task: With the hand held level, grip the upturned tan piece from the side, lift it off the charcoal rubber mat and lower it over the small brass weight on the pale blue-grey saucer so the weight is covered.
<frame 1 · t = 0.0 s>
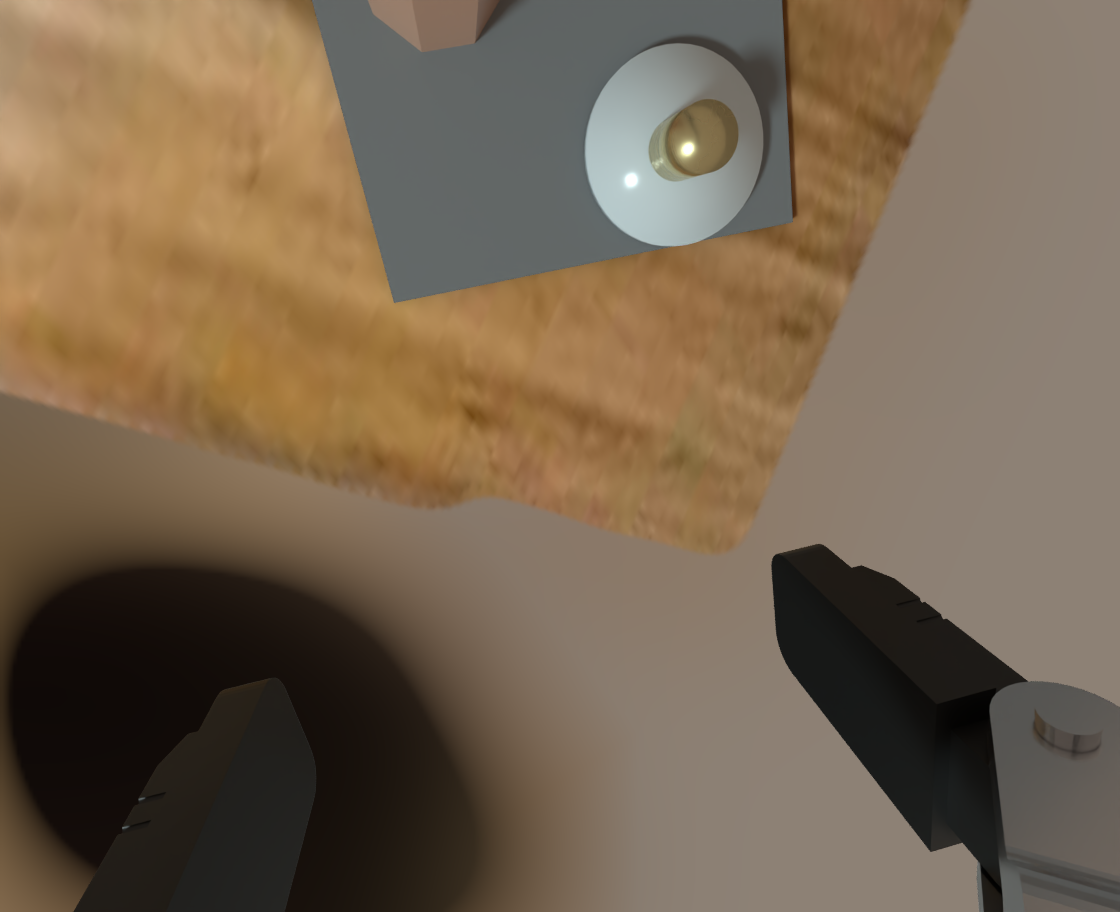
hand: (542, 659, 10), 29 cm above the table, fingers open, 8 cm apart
saucer: (670, 152, 35), resting on rubber mat
rubber mat: (566, 68, 33), on the table
brass weight: (676, 149, 34), point 2 cm above the table, touching saucer
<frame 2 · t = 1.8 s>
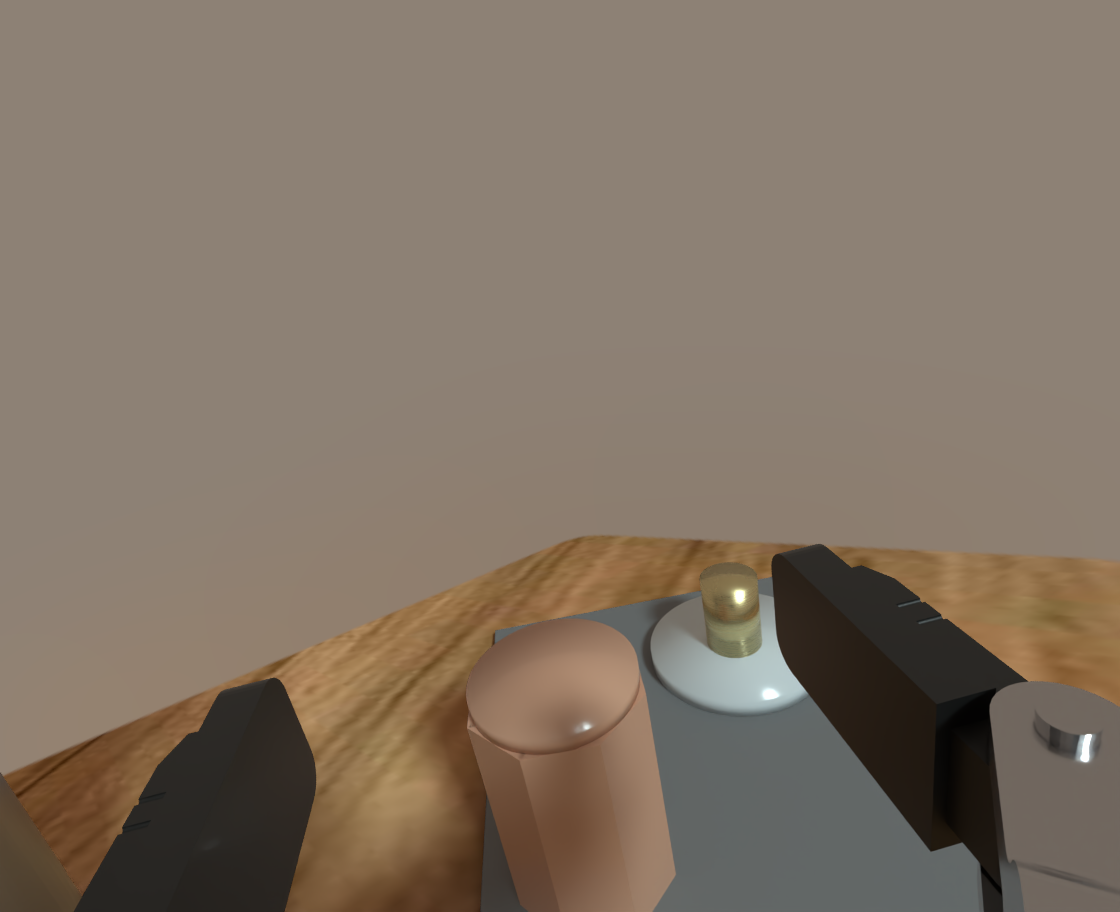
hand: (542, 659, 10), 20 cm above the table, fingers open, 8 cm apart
saucer: (735, 653, 37), resting on rubber mat
rubber mat: (675, 741, 33), on the table
brass weight: (734, 640, 37), point 2 cm above the table, touching saucer
tan piece: (594, 858, 27), point 1 cm above the table, touching rubber mat
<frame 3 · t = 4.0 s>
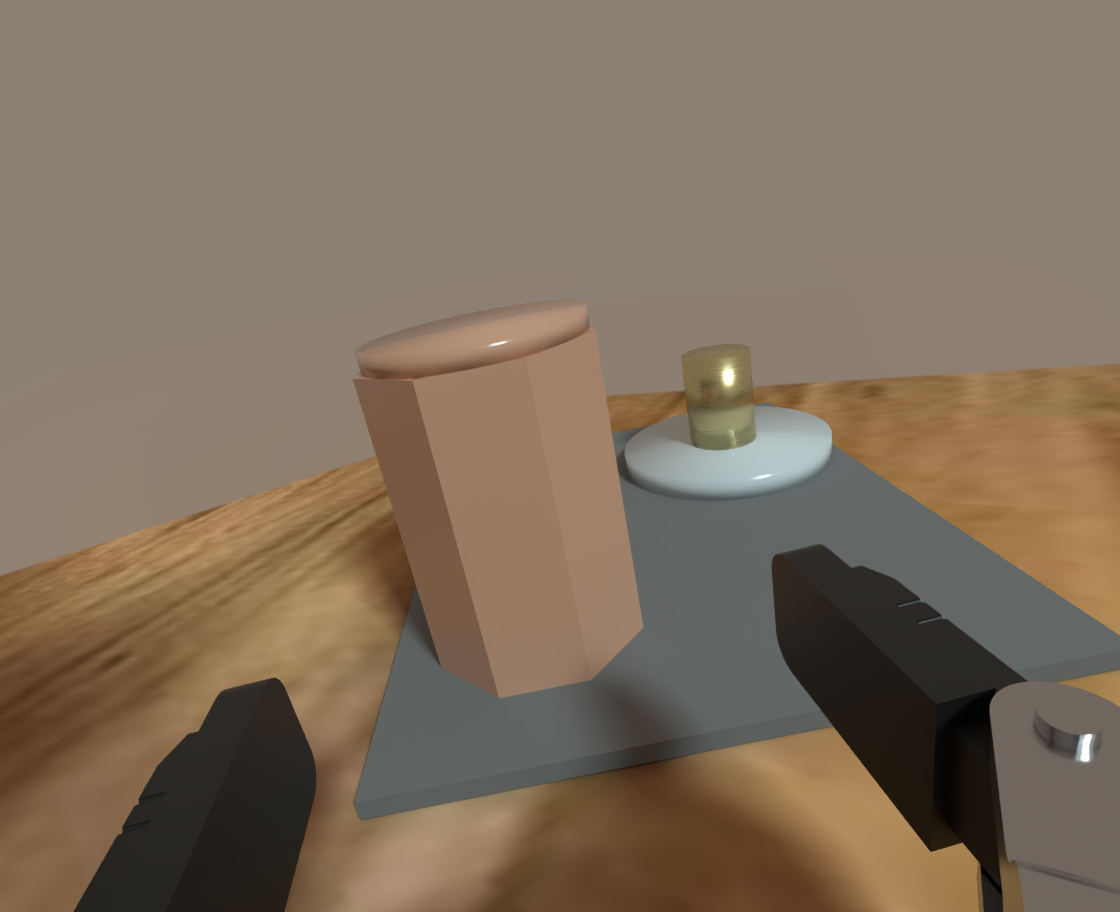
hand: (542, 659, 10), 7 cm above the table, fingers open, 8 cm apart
saucer: (725, 456, 31), resting on rubber mat
rubber mat: (650, 530, 27), on the table
brass weight: (723, 438, 31), point 2 cm above the table, touching saucer
tan piece: (540, 622, 21), point 1 cm above the table, touching rubber mat
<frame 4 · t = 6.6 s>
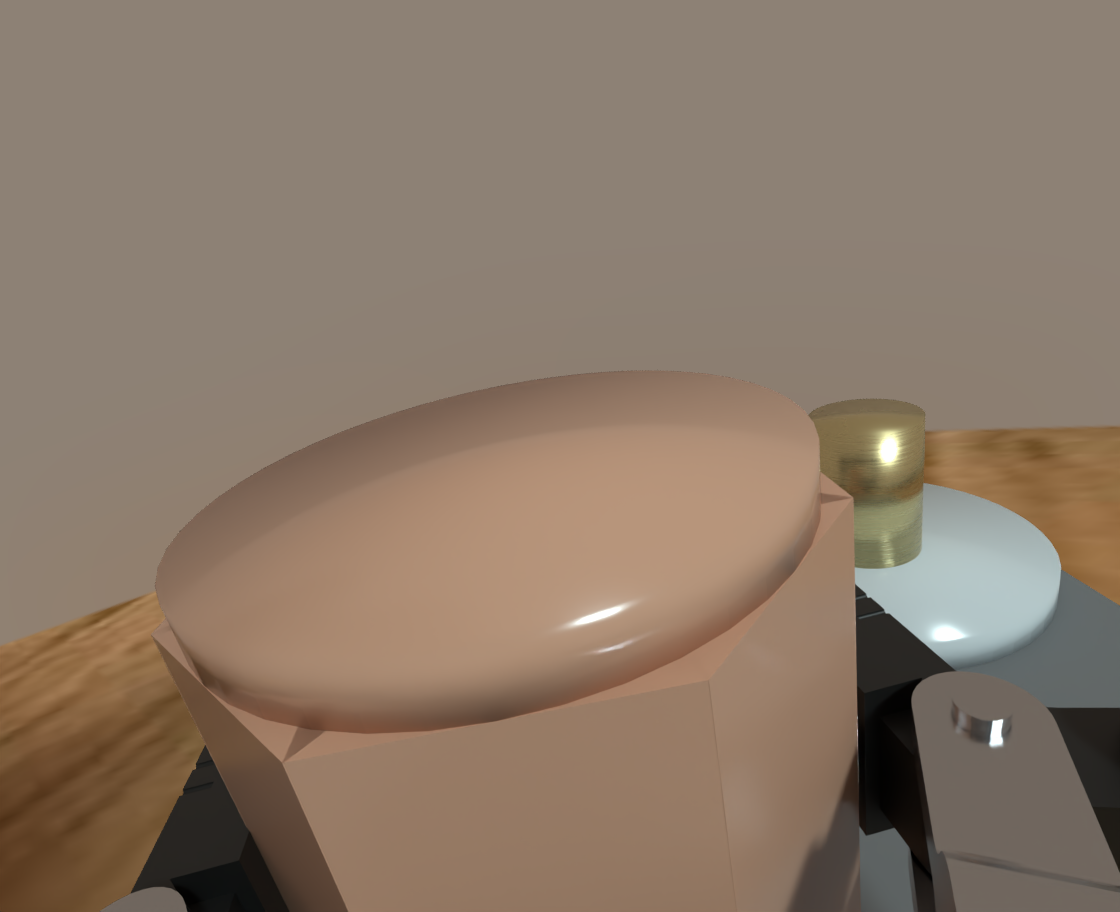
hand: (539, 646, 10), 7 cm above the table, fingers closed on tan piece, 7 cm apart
saucer: (865, 568, 21), resting on rubber mat
rubber mat: (779, 722, 16), on the table
brass weight: (865, 542, 20), point 2 cm above the table, touching saucer
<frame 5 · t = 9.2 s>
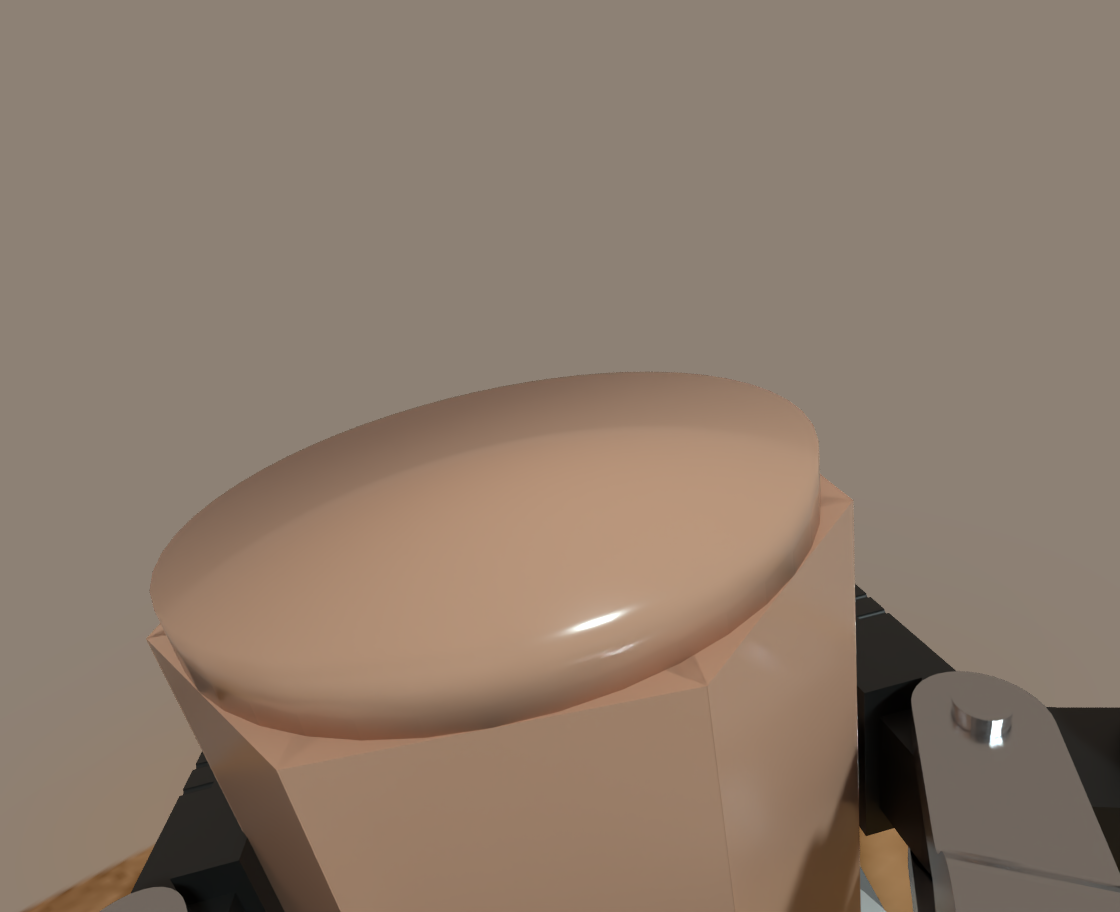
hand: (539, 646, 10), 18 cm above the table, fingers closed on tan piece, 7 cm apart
when the fingers open (9 cm above the table, at t = 12.1 s): tan piece drops 1 cm, resting on saucer.
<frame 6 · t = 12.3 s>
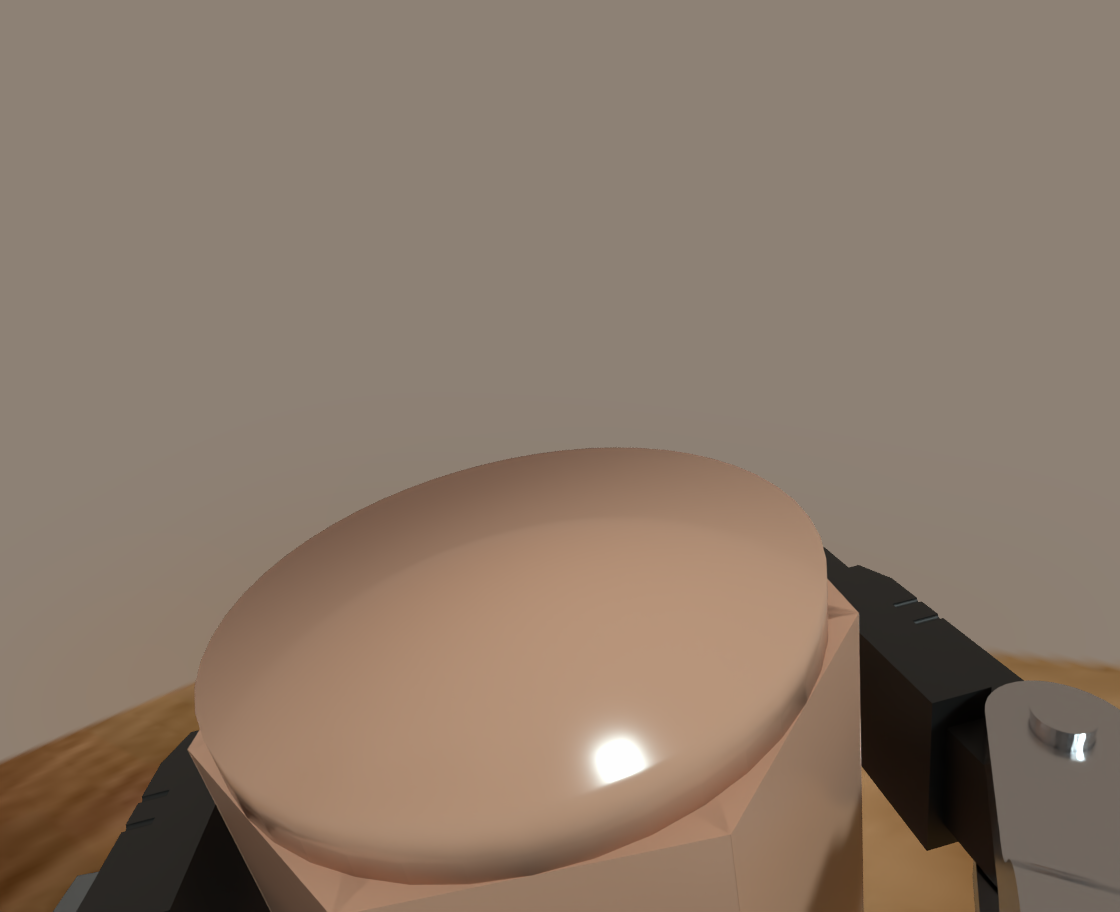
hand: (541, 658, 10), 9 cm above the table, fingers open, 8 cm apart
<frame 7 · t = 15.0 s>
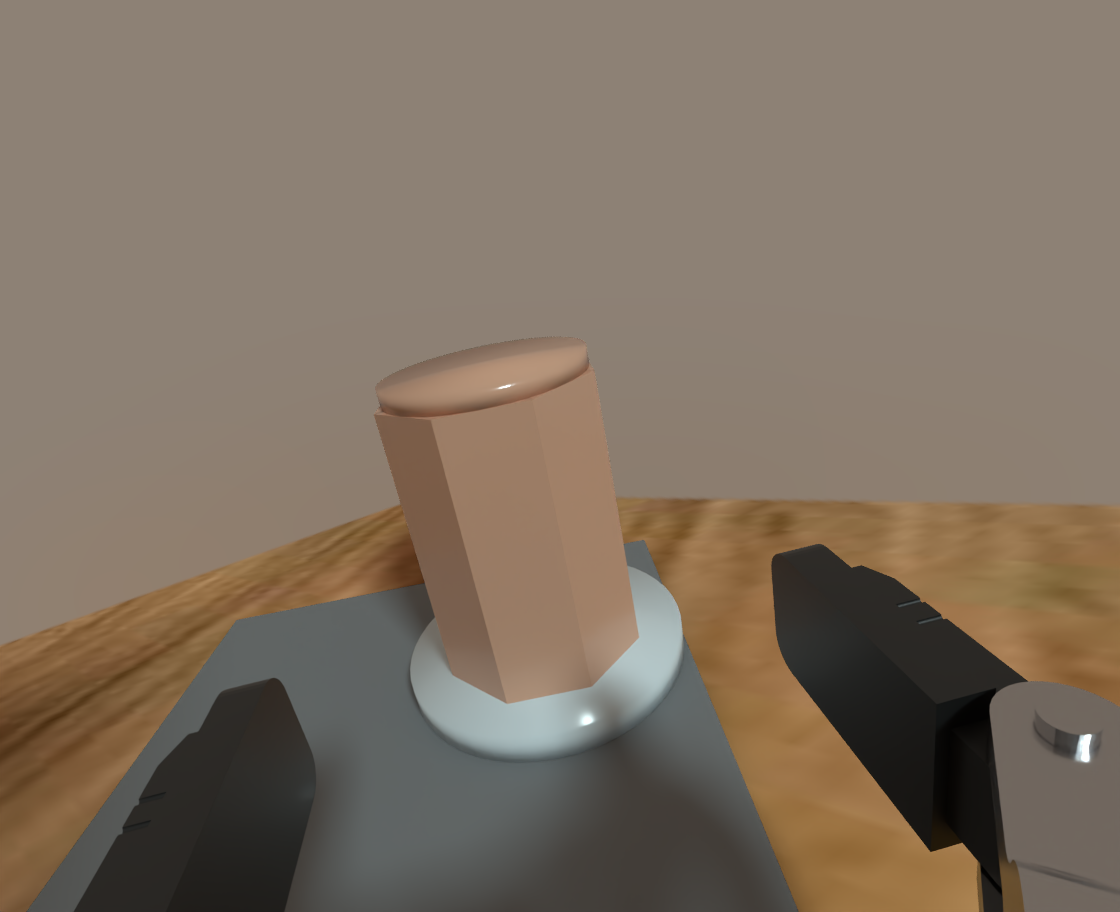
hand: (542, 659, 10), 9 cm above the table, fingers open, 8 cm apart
saucer: (549, 652, 23), resting on rubber mat
rubber mat: (399, 805, 19), on the table
tan piece: (544, 632, 23), point 2 cm above the table, touching saucer
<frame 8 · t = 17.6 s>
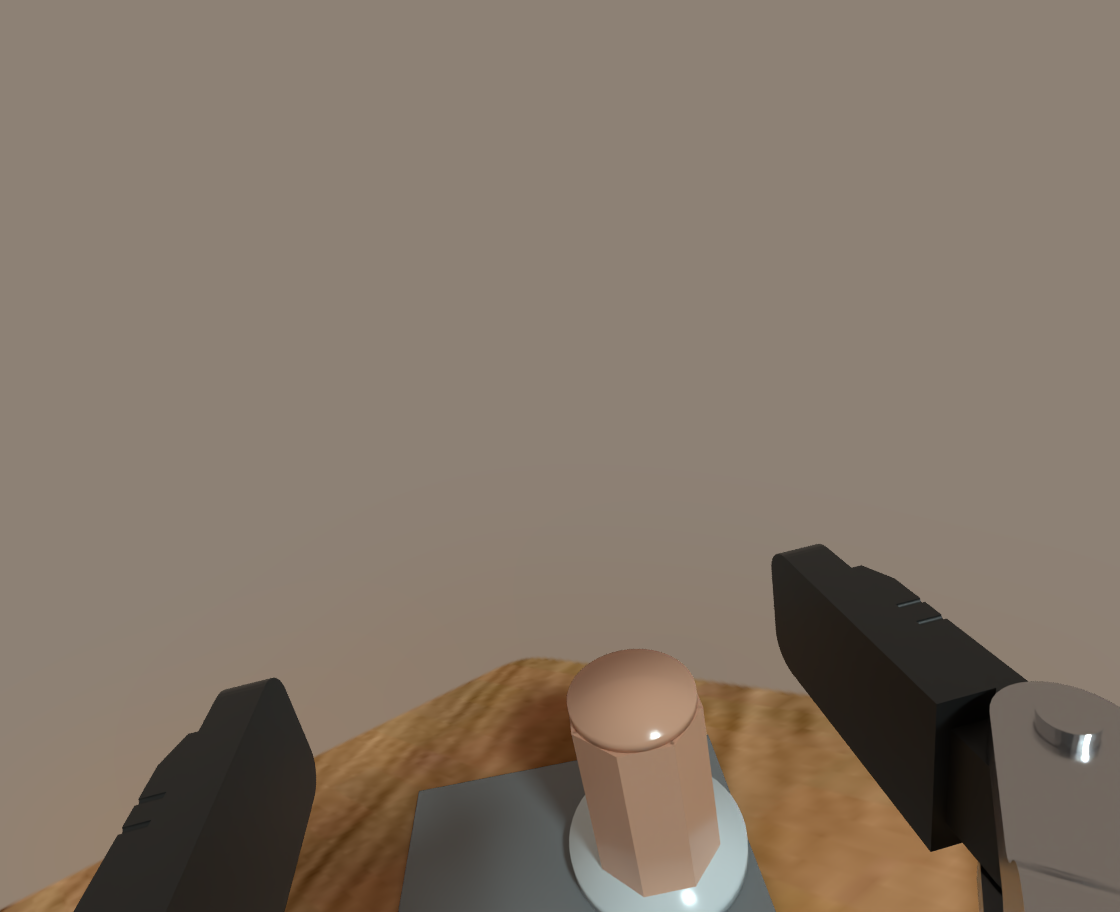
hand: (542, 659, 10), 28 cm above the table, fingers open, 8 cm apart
saucer: (657, 844, 36), resting on rubber mat
tan piece: (655, 833, 35), point 2 cm above the table, touching saucer
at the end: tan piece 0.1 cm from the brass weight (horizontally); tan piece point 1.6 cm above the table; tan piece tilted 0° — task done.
